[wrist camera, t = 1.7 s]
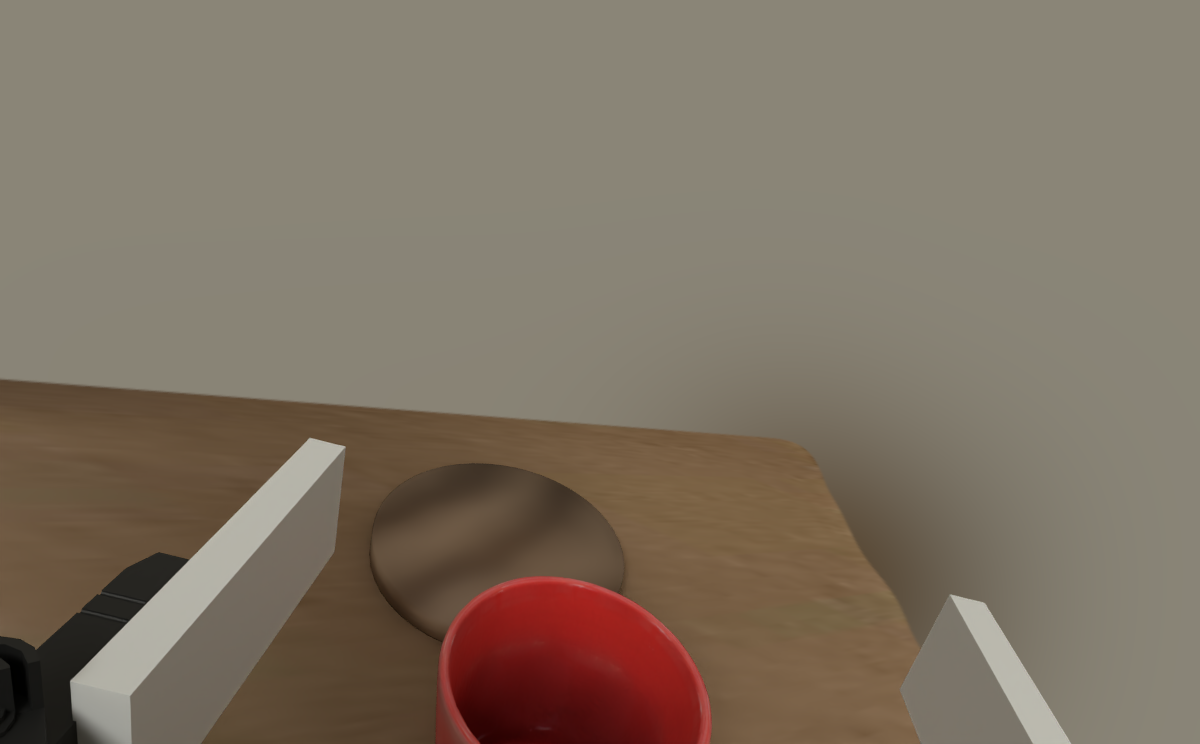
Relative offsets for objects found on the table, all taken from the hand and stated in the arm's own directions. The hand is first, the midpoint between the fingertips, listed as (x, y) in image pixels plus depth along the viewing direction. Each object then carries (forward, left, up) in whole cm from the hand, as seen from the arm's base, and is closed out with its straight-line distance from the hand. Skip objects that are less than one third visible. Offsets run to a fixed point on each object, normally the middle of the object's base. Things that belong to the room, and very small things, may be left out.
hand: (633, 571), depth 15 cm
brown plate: (-13, +21, -22) cm, 33 cm away
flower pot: (-2, +8, -22) cm, 23 cm away
